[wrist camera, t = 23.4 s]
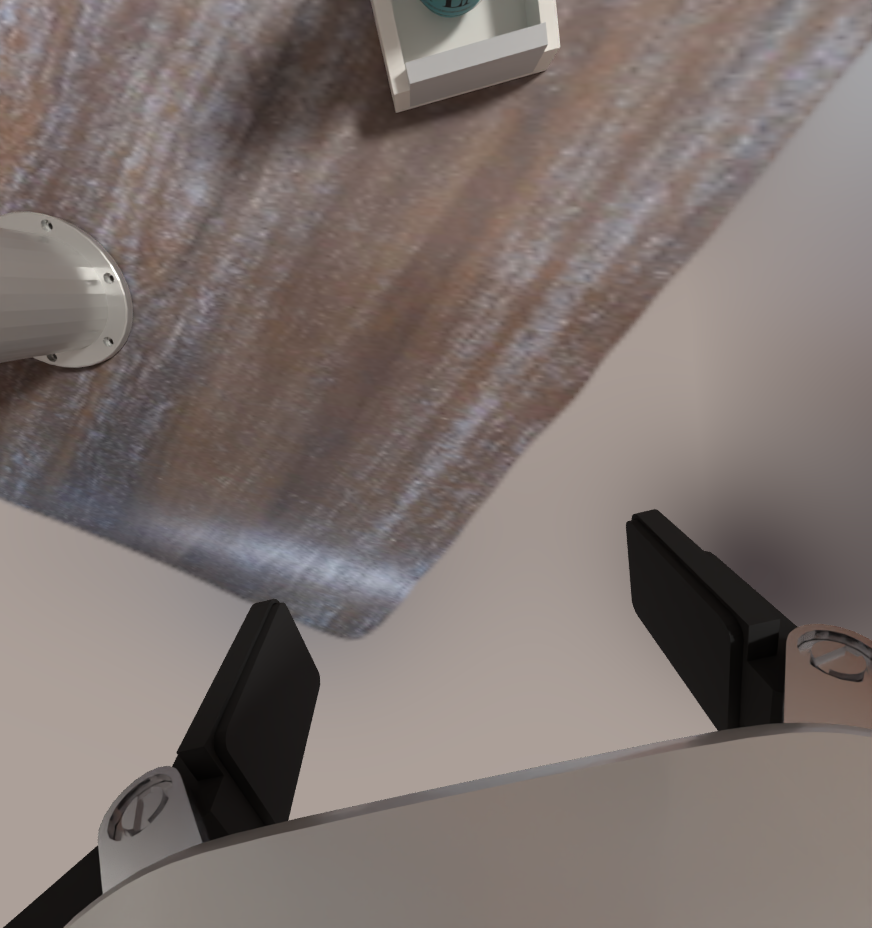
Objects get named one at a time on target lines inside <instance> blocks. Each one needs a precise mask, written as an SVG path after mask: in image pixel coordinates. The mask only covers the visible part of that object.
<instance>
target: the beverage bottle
mask: <svg viewBox="0 0 872 928" xmlns="http://www.w3.org/2000/svg"><path fill="white" fill-rule="evenodd" d="M420 1H421V2H422V3H423V4H424V5H425V6H426V7H427V8H428V9H429V10H430V11H431V12H433V13H435V14H437V15H439V16H442V17H448V18H452V17H458V16H461V15H463V14H465V13H467V12H469V11H470V10H472V9H473V7H474V8H475V7H476V6H477V5H478V4H479V3H480V2H481V1H482V0H481V1H480V0H420ZM479 1H480V2H479ZM478 2H479V3H478ZM477 3H478V4H477ZM476 4H477V5H476ZM475 5H476V6H475Z"/></svg>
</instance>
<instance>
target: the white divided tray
mask: <svg viewBox="0 0 872 928" xmlns="http://www.w3.org/2000/svg"><path fill="white" fill-rule="evenodd" d="M370 1H371V5H372V10H373V14H374V19H375V23H376V28H377V32H378V36H379V41H380V45H381V50H382V54H383V59H384V63H385V68H386V72H387V76H388V81H389V85H390V90H391V94H392V99H393V103H394V107H395V112H396V113H398V112H401V111H405V110H408V109H412V108H415V107H419V106H422V105H426V104H429V103H433V102H436V101H440V100H443V99H447V98H450V97H454V96H458V95H461V94H465V93H468V92H472V91H475V90H479V89H482V88H486V87H489V86H493V85H496V84H500V83H503V82H507V81H510V80H514V79H517V78H521V77H524V76H528V75H531V74H535V73H538V72H542V71H546V70H547V68H548V67H549V65H550V63H551V62H552V60H553V58H554V57H555V55H556V53H557V52H558V50H559V48H560V40H559V29H558V19H557V9H556V0H482V1H481V0H480V1H481V2H480V1H479V2H480V3H479V2H478V3H479V4H478V3H477V4H478V5H477V4H476V5H477V6H476V5H475V6H476V7H475V8H474V7H473V9H472V10H470V11H469V12H467V13H465V14H463V15H461V16H458V17H452V18H448V17H442V16H439V15H437V14H435V13H433V12H431V11H430V10H429V9H428V8H427V7H426V6H425V5H424V4H423V3H422V2H421V1H420V0H370Z"/></svg>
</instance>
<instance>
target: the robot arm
mask: <svg viewBox="0 0 872 928" xmlns="http://www.w3.org/2000/svg"><path fill="white" fill-rule="evenodd" d="M113 277H114V280H113ZM132 321H133V305H132V299H131V295H130V291H129V287H128V285H127V283H126V280H125V278H124V276H123V273H122V272H121V270H120V268H119V267H118V265H117V264H116V262H115V261H114V259H113V258H112V257H111V255H110V254H109V253H108V252H107V251H106V250H105V248H104V247H103V246H102V245H101V244H100V243H98V242H97V241H96V240H95V239H94V238H93V237H92V236H90V235H89V234H88V233H86V232H85V231H83V230H82V229H80V228H78V227H77V226H75V225H74V224H71V223H69V222H67V221H65V220H62V219H60V218H57V217H53V216H49V215H45V214H40V213H34V212H11V213H8V214H4V215H1V216H0V363H2V362H8V361H14V360H20V359H26V358H32V357H33V358H34V359H37V360H39V361H42V362H45V363H47V364H50V365H55V366H60V367H69V368H79V367H85V366H91V365H95V364H98V363H102V362H104V361H106V360H108V359H109V358H111V357H113V356H114V355H115V354H116V353H117V352H118V351H120V350H121V348H122V347H123V345H124V344H125V342H126V341H127V339H128V336H129V334H130V331H131V328H132ZM112 340H113V341H112ZM626 533H627V545H628V558H629V569H630V582H631V595H632V603H633V607H634V609H635V612H636V614H637V615H638V617H639V618H640V620H641V621H642V622H643V624H644V625H645V627H646V628H647V630H648V631H649V633H650V634H651V635H652V637H653V638H654V640H655V641H656V643H657V644H658V645H659V647H660V648H661V650H662V651H663V653H664V654H665V655H666V657H667V658H668V660H669V661H670V663H671V664H672V666H673V667H674V668H675V670H676V671H677V672H678V674H679V676H680V677H681V678H682V680H683V681H684V683H685V684H686V686H687V687H688V688H689V690H690V691H691V693H692V694H693V696H694V697H695V698H696V700H697V701H698V703H699V704H700V706H701V707H702V709H703V710H704V711H705V713H706V714H707V716H708V717H709V719H710V720H711V721H712V723H713V724H714V726H715V727H716V728H717V730H718V731H717V732H711V733H705V734H700V735H695V736H689V737H684V738H679V739H673V740H668V741H662V742H657V743H652V744H647V745H642V746H637V747H632V748H627V749H623V750H618V751H613V752H608V753H603V754H599V755H593V756H589V757H584V758H579V759H574V760H569V761H565V762H559V763H555V764H550V765H545V766H540V767H535V768H530V769H525V770H521V771H516V772H511V773H507V774H502V775H497V776H492V777H488V778H483V779H479V780H473V781H469V782H464V783H459V784H455V785H450V786H445V787H440V788H436V789H431V790H427V791H422V792H417V793H412V794H408V795H403V796H398V797H394V798H389V799H385V800H380V801H375V802H371V803H367V804H362V805H357V806H352V807H348V808H343V809H339V810H334V811H330V812H325V813H321V814H316V815H311V816H307V817H302V818H298V819H294V820H289V821H288V819H289V815H290V811H291V806H292V802H293V797H294V793H295V789H296V785H297V781H298V776H299V772H300V768H301V764H302V759H303V755H304V751H305V746H306V742H307V738H308V734H309V730H310V725H311V721H312V717H313V713H314V708H315V704H316V700H317V696H318V692H319V687H320V676H319V672H318V670H317V668H316V666H315V664H314V661H313V659H312V657H311V655H310V653H309V651H308V649H307V647H306V645H305V643H304V641H303V639H302V637H301V635H300V632H299V630H298V628H297V626H296V624H295V622H294V620H293V618H292V616H291V614H290V612H289V610H288V608H287V606H286V604H285V603H280V602H279V601H278V600H277V599H272V600H267V601H263V602H259V603H255V604H253V605H252V607H251V608H250V611H249V612H248V614H247V616H246V618H245V620H244V622H243V624H242V626H241V628H240V630H239V632H238V634H237V636H236V638H235V640H234V642H233V644H232V645H231V647H230V649H229V651H228V653H227V655H226V657H225V659H224V661H223V663H222V665H221V667H220V669H219V671H218V673H217V675H216V677H215V678H214V680H213V683H212V684H211V686H210V688H209V690H208V692H207V694H206V696H205V698H204V700H203V702H202V704H201V706H200V708H199V710H198V712H197V714H196V716H195V717H194V720H193V721H192V723H191V725H190V727H189V729H188V731H187V733H186V735H185V737H184V739H183V741H182V743H181V745H180V747H179V749H178V751H177V754H178V756H177V758H176V760H175V762H174V764H173V766H172V767H170V766H164V767H158V768H156V769H154V770H151V771H149V772H147V773H145V774H144V775H142V776H141V777H140V778H138V779H136V780H135V781H134V782H133V783H131V784H130V785H129V786H128V787H127V788H126V789H125V790H124V791H123V792H122V793H121V794H120V795H119V796H118V797H117V799H116V800H115V801H114V802H113V803H112V805H111V806H110V808H109V810H108V811H107V813H106V814H105V816H104V818H103V820H102V823H101V825H100V828H99V833H98V846H97V847H95V848H94V849H93V850H92V851H91V852H90V853H89V854H87V855H86V856H85V857H84V858H83V859H82V860H80V861H79V862H78V863H77V864H76V865H75V866H74V867H72V868H71V869H70V870H69V871H68V872H67V873H66V874H64V875H63V876H62V877H61V878H60V879H59V880H58V881H56V882H55V883H54V884H53V885H52V886H51V887H49V888H48V889H47V890H46V891H45V892H44V893H43V894H41V895H40V896H39V897H38V898H37V899H36V900H34V901H33V902H32V903H31V904H30V905H29V906H28V907H27V908H25V909H24V910H23V911H22V912H21V913H20V914H18V915H17V916H16V917H15V918H14V919H13V920H11V921H10V922H9V923H8V924H7V925H6V926H5V927H3V928H872V641H871V640H870V639H868V638H866V637H864V636H862V635H860V634H858V633H856V632H853V631H851V630H847V629H844V628H841V627H837V626H831V625H824V624H810V625H809V624H808V625H804V626H800V627H797V626H796V625H795V624H793V623H792V622H791V621H790V620H789V619H788V618H786V617H785V616H784V615H783V614H782V613H781V612H780V611H778V610H777V609H776V608H775V607H774V606H773V605H772V604H770V603H769V602H768V601H767V600H766V599H765V598H763V597H762V596H761V595H760V594H759V593H758V592H756V591H755V590H754V589H753V588H752V587H751V586H750V585H749V584H747V583H746V582H745V581H744V580H743V579H742V578H740V577H739V576H738V575H737V574H736V573H735V572H734V571H732V570H731V569H730V568H729V567H727V565H726V564H724V563H723V562H722V561H721V560H720V559H718V558H717V557H716V556H715V555H714V554H712V553H711V552H707V551H703V550H702V549H701V548H700V547H699V546H698V545H696V544H695V543H694V542H693V541H692V540H691V539H690V538H689V537H687V536H686V535H685V534H684V533H683V532H682V531H681V530H680V529H678V528H677V527H676V526H675V525H674V524H673V523H672V522H671V521H669V520H668V519H667V518H666V517H665V516H664V515H663V514H662V513H660V512H659V511H658V510H655V509H654V510H650V511H645V512H641V513H637V514H633V516H632V520H631V521H628V522H627V523H626Z"/></svg>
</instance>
